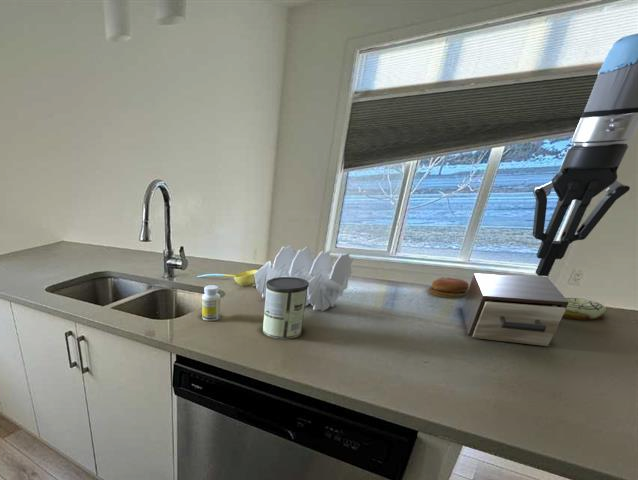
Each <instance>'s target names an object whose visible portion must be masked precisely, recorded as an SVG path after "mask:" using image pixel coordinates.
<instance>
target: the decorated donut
mask: <svg viewBox="0 0 638 480" xmlns="http://www.w3.org/2000/svg"><path fill="white" fill-rule="evenodd" d="M564 297H565V298H566V299H567V300H568V302H569V303H568V305H567V307H566V310H565V312H564V314H563V317H562V318H563V319H569V320H570V319H571V320H583V321H584V320H585V321H586V320H587V321H588V320H597V319H600V318H601V317H602V316H603V315H604V314H605V312H606V311H607V308H606V306H605V305H604V304H602V303H600V302H598V301H594V300H589V299H585V298H580V297H579V298H578V297H572V296H571V297H570V296H564ZM572 304H575V305H572ZM590 306H591V307H590Z"/></svg>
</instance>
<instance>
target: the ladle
mask: <svg viewBox="0 0 638 480" xmlns="http://www.w3.org/2000/svg"><path fill="white" fill-rule="evenodd" d="M258 270H259V269H250V270H246V271H243V272H239V273H236V274H227V273H206V274H201V275H197V278H205V277H233V278H234V281H235V282H236V284H238V285H240V286H242V287H249V286H251V285H253V284H255V277H254V273H255V272H256V271H258Z"/></svg>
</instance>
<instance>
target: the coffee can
mask: <svg viewBox="0 0 638 480" xmlns="http://www.w3.org/2000/svg"><path fill="white" fill-rule="evenodd" d="M266 286H267V287H266V297H264V298H265V300H264V312H263V324H262V333H264V334H265V335H266V336H268V337H271V338H274V339H293V338H297V337H299V336H301V335H302V332H303V331H302V330H303V324H304V316H305V309H306V306H305V304H306V296H307V289H308V286H309V282H308V281H306V280H304V279H300V278H294V277H280V278H274V279H270V280H268V281H267V282H266Z"/></svg>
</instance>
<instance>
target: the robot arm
mask: <svg viewBox="0 0 638 480" xmlns="http://www.w3.org/2000/svg"><path fill="white" fill-rule="evenodd" d="M637 129H638V33H633V34H628V35H625V36H623V37H621V38H619V39H617V40H616V41H615V42H614V43H613V44H612V45H611V47H610V48H609V51H608V53H607V54H606V55H605V58H604V60H603V62H602V64H601V67H600V69H599V70H598V72H597V77H596V80H595V82H594V85H593V88H592V90H591V92H590V95H589V98H588V99H587V103H586V105H585V107H584V110H583V112H582V115H581V117H580V119H579V122H578V124H577V127H576V129H575V131H574V134H573V135H572V139H571V140H570V142H571V143H572V144H573V146H569V148H568V149H567V150H566V153H565V155H564V158H563V160H562V163H561V165H560V168H559V170H558V172H557V173H556V174H555V176H553V177H552V179H551V181H550V182H546V183H545V184H544V185H543V184H542V185H541V186H535V187H534V188H533V189H532V194H533V196H534V198H535V207H534V213H533V214H534V216H533V226H532V234H531V235H532V236H533V238H534V239H536V240H540V241H541V242H540V244H539V248H538V250H537V252H536V258H537V259H540V260H539V262H538V265H537V267H536V270H535V272H534V273H535V274H536V275H537V277H549V275H550V273H551V271H552V269H553V266H554V264H555V262H556V260H562V259H563V258H564V257H565V255H566V252H567V250H568V248H569V246H570V244H572V243H573V242H576V241H584V240H585V239H586V238H587V237H588V236H589V235H590V234H591V232H592V231H593V230H594V228H595V227H596V226H597V225H598V224H599V222H601V220H602V219H603V217H604V216H605V215H606V214H607V212H608V211H609V210H610V209H611V208H612V206H613V205H614V204H615V202H616V201H617V200H619V199H620V198H621V197H622V196H624V195H625V194H626V193H629V191H630V190H631V187H630V185H626V184H623V183H621V182H620V181H618V169H619V168H620V165H621V163H622V160H623V159H624V157H625V154H626V152H627V150H628V148H629V145H628V143H626V141H630V140H631V139H633V137H634V135H635V133H636V131H637ZM552 189H553V190H554V192H555V194H556V197H557V198H558V199H557V201H556V206H555V208H554V210H553V213H552V215H551V218H550V220H549V222H548V224H547V227H546V229H545V224H546V215H547V207H548V206H547V205H548V197H549V195H550V194H551V191H552ZM604 190H606V191H605V195H603V197H602V198H601V199H600V201H598V203H597V204H596V206H595V207H594V208H593V209H592V210H591V212H590V213H589V214H588V216H587V217H586V219H585V220H583V222H582V219H583V217H584V215H585V213H586V210H587V209H588V206H590V204H591V202H592V200H593V198H595V197H596V196H598V195H599V194H601V193H602V192H603V191H604ZM573 201H574V206H573V208H572V210H571V213H570V214H569V217H568V219H567V222H566V224H565V226H564V229H563V231H562V233H561V235H560V238H559V239H560V240H555V238H556V236H557V234H558V231H559V230H560V227H561V225H562V223H563V220H564V218H565V216H566V214H567V211H568V209H569V207H571V204H572V202H573ZM581 222H582V224H581Z"/></svg>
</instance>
